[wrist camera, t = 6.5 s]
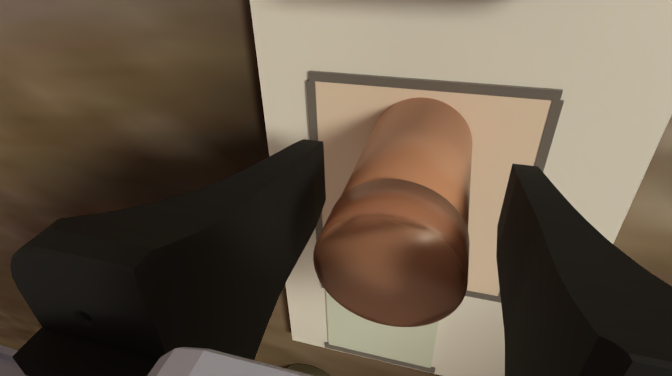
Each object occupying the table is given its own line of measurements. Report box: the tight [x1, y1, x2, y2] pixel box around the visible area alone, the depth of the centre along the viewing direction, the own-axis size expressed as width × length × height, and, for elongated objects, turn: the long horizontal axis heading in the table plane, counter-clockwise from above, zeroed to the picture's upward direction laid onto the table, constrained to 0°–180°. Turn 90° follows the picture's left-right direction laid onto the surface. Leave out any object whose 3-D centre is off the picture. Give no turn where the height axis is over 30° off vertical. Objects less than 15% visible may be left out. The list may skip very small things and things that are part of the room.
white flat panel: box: [250, 0, 672, 376], centre depth 14 cm, size 12×24×1 cm, turn 1°
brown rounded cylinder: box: [313, 97, 472, 327], centre depth 11 cm, size 3×3×6 cm
